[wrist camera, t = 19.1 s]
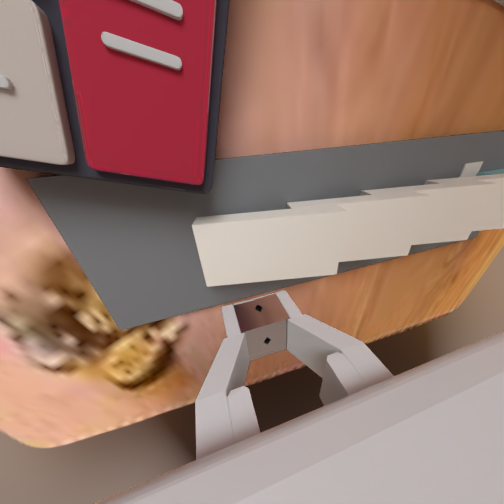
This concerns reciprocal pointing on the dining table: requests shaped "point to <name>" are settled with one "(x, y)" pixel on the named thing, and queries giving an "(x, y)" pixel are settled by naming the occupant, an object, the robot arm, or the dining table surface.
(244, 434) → the robot arm
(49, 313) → the dining table surface
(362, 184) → the domino mat
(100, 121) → the calculator
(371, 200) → the domino
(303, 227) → the domino
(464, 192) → the domino
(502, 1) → the smartphone
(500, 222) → the domino
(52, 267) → the dining table surface
